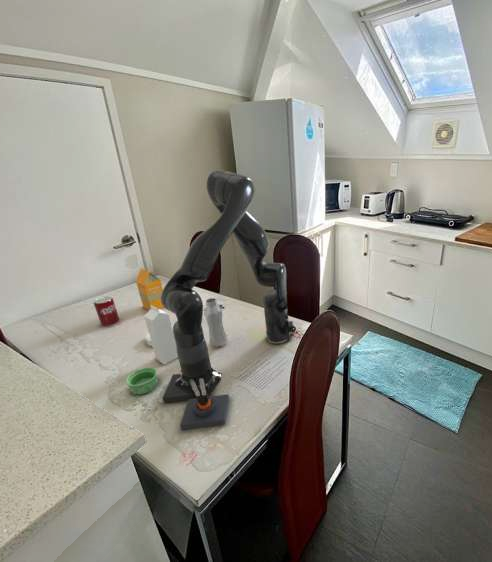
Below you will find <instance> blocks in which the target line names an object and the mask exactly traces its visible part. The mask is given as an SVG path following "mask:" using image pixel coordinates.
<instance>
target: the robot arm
mask: <svg viewBox="0 0 492 562" xmlns="http://www.w3.org/2000/svg"><path fill="white" fill-rule="evenodd" d="M206 192H207V195H208V197H209V199H210V201H211V202H212V204H213V206H214V207H215V209H216V210H217V211H218V212H219V214H220V216H219V217H218V218H217V219H216V220H215V222H213V224H212V225H210V226H209V227H208V228H207V229H205V230H204V231H203V232H201V233H200V234H199V235H198V236H197V237H196V238H195V239H194V240H193V241H192V243H191V245H190V246H189V248H188V250H187V252H186V254H185V256H184V258H183V260H182V262H181V266H180V267H179V268H178V269H177V270H176V271H175V272H174V274H173V275H172V276H171V278H170V279H169V280H168V281H167V283H165V285H164V287H163V291H162V294H161V303H162V305H163V307H164V308H163V309H165V310H167V311H169V312H170V313H173V314H175V316H176V319H177V320H176V321H175V322H174V323H173V325H172V326H173V334H174V338H175V342H176V348H177V355H178V358H177V359H178V362H179V366H180V371H182V375H181V377H178V378H177V380H176V383H175V386H177V387H178V388H180V389H181V390H183V391H184V392H186V393H187V394H189V395H193V394H194V395H196V396H197V400H198V403H199V404H201V405H206V403H208V400H209V395H208V393H212V394H213V392H214V390H215V389H216V388H217V386H218V385H219V384H220V382H221V381H222V377H223V373H222V372H216V373H215V372H214V370H215V369H214V368H213V367H212V364H211V358H210V354H209V347H208V345H207V341H206V338H205V335H204V330H203V326H202V325H203V324H202V323H203V317H204V313H203V312H204V303H203V300H202V298H201V294H199V293H198V291H196V290H194V287H195V286H196V284H197V283H202V282H205V281H207V279H208V278H209V277H210V274H211V272H212V270H213V268H214V266H215V263H216V261H217V259H218V257H219V255H220V253H221V252H222V249H223V248H224V246H225V244H226V242H227V241H228V239H229V238H230V237H231V235H232V234H233V236H234V237H235V239H236V241H237V243H238V245H239V247H240V248H241V251H242V252H243V253H244V255H245V257H246V260H247V262H248V263H249V266H250V267H251V270H252V272H253V275H254V278H255V280H256V282H257V283H258V284H259V286H262V287H267V288H269V287H271V288H275V289H273V290H269V291H267V292H265V293H264V294H263V296H262V301H263V302H262V303H263V311H264V312H263V313H264V320H265V333H266V341H267V342H268V343H269V344H272V345H281V344H285V343H286V342H290V340H291V338H290V337H291V336H290V335H291V334H290V333H292V334H294V333H295V332H296V330H297V327H296V326H294V321H293V320H291V321H290V320H289V312H288V296H287V295H288V291H287V290H288V288H287V268H286V265H285V264H284V263H282V262H267V261H265V260H264V258H265V257H266V255H267V253H268V252H269V248H270V241H269V238H268V236H267V233H266V231H265V229H264V227H263V225H262V224H261V222H259V221H258V220H257V219H256V217H254V216H253V215H252V214H251V213H250V212H249V211H248V209H249V207H250V206H251V204H252V202H253V200H254V196H255V184H254V182H253V180H252V179H251V178H250V177H248V176H246V175H243V174H240V173H236V172H231V171H229V170H223V169H222V170H221V169H218V170H214V171H212V172H211V173H209V175H208V177H207V179H206ZM211 377H213V381H212V382H211V384H210V385H209V386H207V383H208V382H209V380H210V379H211ZM188 388H189V389H188Z"/></svg>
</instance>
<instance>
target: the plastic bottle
mask: <svg viewBox="0 0 492 562" xmlns="http://www.w3.org/2000/svg"><path fill="white" fill-rule="evenodd" d="M205 306H206V308H205V309H204V311H203V312H204V313H203V316H204V317H205V320H206V323H207V327H208V334H209V335H208V337H209V343H210V345H211V346H213V347H222V346H225V344H226V343H227V341H228V336H227V333H226V332H225V331H226V330H225V328H224V324H223V323H224V322H223V311H222V309H221V307H220V306H219V305H218V302H217V298H214V297H210V298H207V299H206V300H205Z"/></svg>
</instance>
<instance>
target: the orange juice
mask: <svg viewBox="0 0 492 562" xmlns="http://www.w3.org/2000/svg"><path fill="white" fill-rule="evenodd" d="M135 282H136V286H137V290H138V294H139V297H140V300H141V305H142V307H143V308H144V309H145V310H147V311H149V310H150V309H151V306H150V305H152V306H154V307H155V308H157V309H160V310H163V309H165V308H164V307H163V305H162V303H161V294H162V291H163V289H164V287H163V285H162V280H161V279H159V278H158V277H156V275H154V274H153V273H151V271H149V270H147V269H144V268H140V270H139V272H138V275H137V277H136V280H135Z"/></svg>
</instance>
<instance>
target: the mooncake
mask: <svg viewBox="0 0 492 562" xmlns="http://www.w3.org/2000/svg"><path fill="white" fill-rule="evenodd" d="M172 329H173V325H172ZM144 339H145V343H146V345H147V346H149V347H151V348H153V346H152V342H151V339H150V335H149V331H147V332H146V334H145V335H144Z"/></svg>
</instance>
